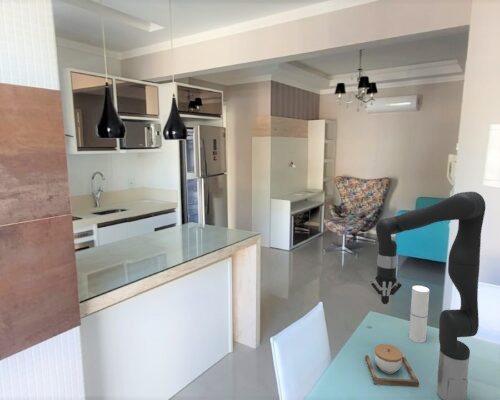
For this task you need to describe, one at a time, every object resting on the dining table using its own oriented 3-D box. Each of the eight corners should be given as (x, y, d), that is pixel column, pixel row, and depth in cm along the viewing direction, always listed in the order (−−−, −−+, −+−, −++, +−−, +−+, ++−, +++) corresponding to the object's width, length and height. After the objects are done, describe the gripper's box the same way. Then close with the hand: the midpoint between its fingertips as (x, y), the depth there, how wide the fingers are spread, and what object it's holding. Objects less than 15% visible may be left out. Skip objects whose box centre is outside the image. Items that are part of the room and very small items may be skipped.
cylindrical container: (408, 340, 162) (411, 290, 158) (409, 332, 169) (412, 284, 165) (425, 344, 159) (429, 293, 155) (425, 336, 165) (429, 287, 161)
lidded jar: (368, 367, 143) (369, 346, 142) (383, 357, 150) (384, 337, 148) (392, 381, 135) (393, 359, 133) (406, 370, 141) (408, 349, 140)
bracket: (365, 359, 149) (365, 354, 148) (404, 361, 147) (404, 356, 147) (374, 384, 133) (374, 379, 133) (418, 386, 132) (419, 382, 131)
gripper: (372, 267, 142) (371, 306, 145) (406, 268, 141) (403, 307, 143) (368, 261, 149) (366, 299, 152) (400, 262, 148) (397, 300, 151)
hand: (384, 303), depth 148 cm, fingers closed
